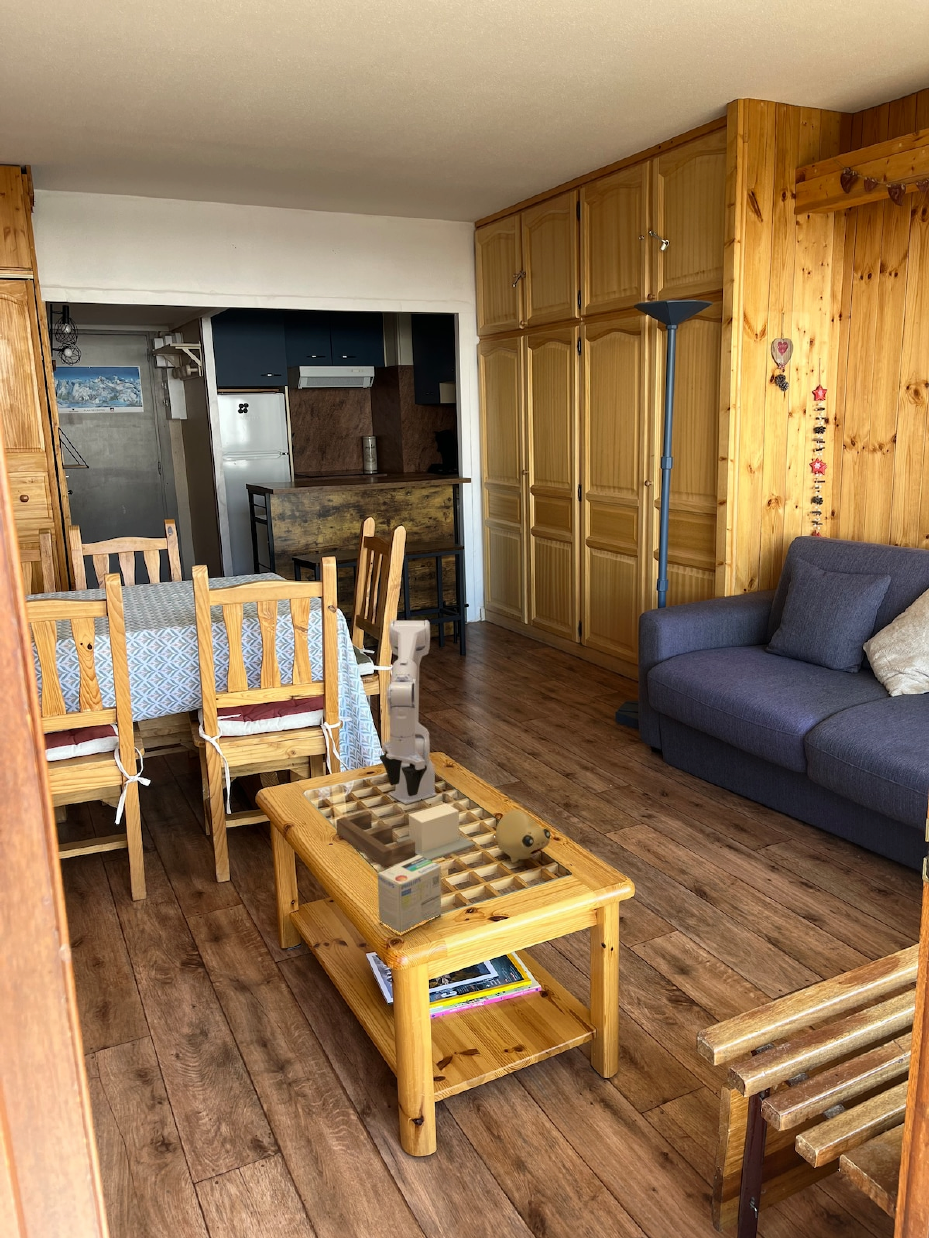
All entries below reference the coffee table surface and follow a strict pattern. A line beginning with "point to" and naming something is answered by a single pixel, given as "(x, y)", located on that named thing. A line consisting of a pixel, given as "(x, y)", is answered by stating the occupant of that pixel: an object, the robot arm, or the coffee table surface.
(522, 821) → the tan toy animal
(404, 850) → the walnut rack
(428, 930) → the coffee table surface
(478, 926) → the coffee table surface
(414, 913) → the light bulb box
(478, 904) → the coffee table surface
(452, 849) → the grey mat
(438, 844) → the off-white block
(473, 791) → the coffee table surface
